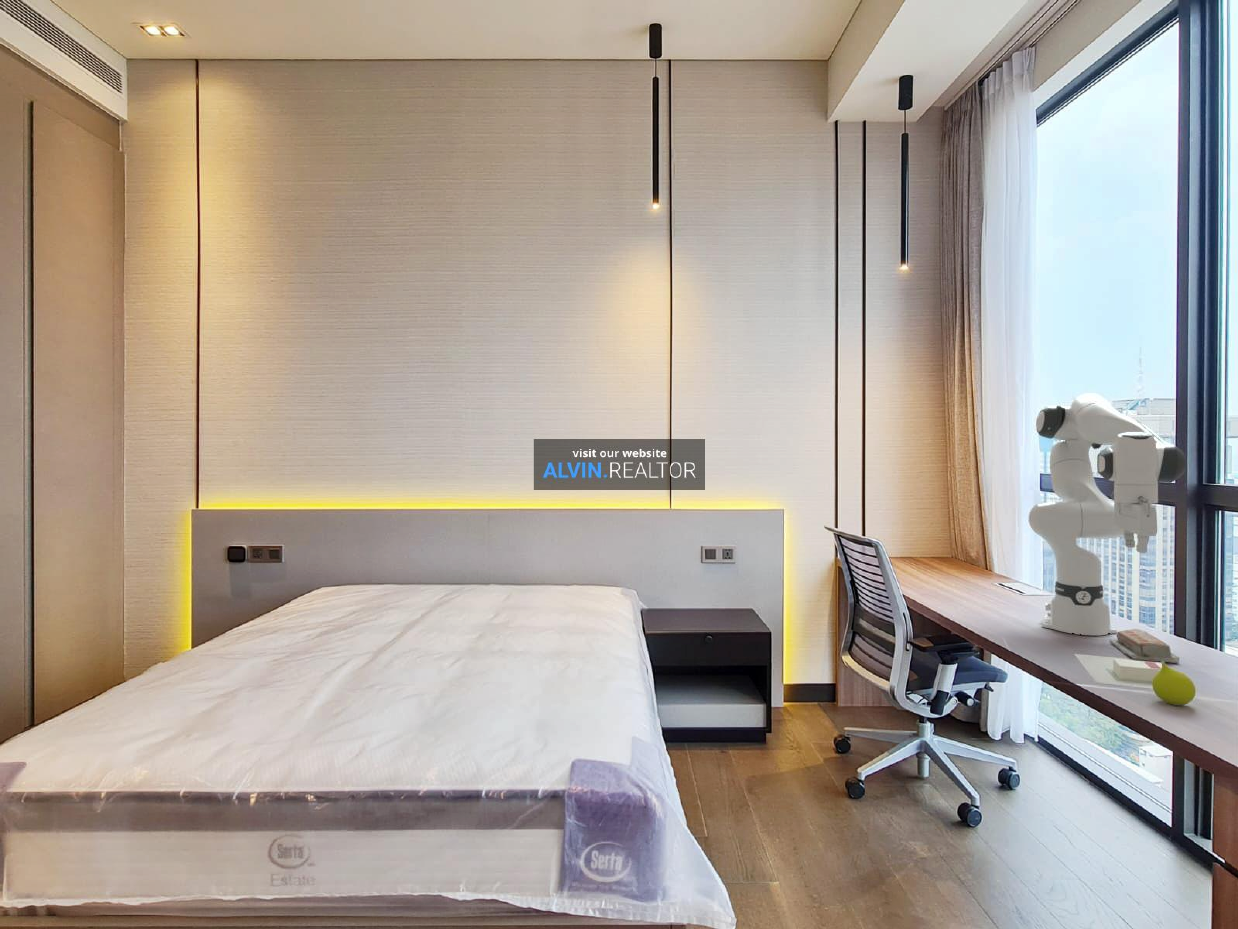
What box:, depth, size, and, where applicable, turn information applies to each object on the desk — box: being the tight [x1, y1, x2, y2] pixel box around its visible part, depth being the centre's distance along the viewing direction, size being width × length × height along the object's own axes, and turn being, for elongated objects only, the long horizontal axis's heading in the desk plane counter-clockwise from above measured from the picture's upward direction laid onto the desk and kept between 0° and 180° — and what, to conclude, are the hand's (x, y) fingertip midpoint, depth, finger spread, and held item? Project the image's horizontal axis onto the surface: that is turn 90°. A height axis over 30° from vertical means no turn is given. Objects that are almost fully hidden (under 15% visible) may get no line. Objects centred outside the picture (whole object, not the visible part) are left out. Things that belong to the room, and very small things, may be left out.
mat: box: [1073, 653, 1160, 690], centre depth 161 cm, size 24×18×1 cm
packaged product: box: [1109, 628, 1180, 664], centre depth 176 cm, size 18×5×10 cm
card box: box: [1113, 659, 1162, 682], centre depth 157 cm, size 6×3×10 cm
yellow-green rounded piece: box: [1152, 661, 1197, 706], centre depth 142 cm, size 7×7×10 cm
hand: (1135, 549), depth 168 cm, fingers open, 8 cm apart
